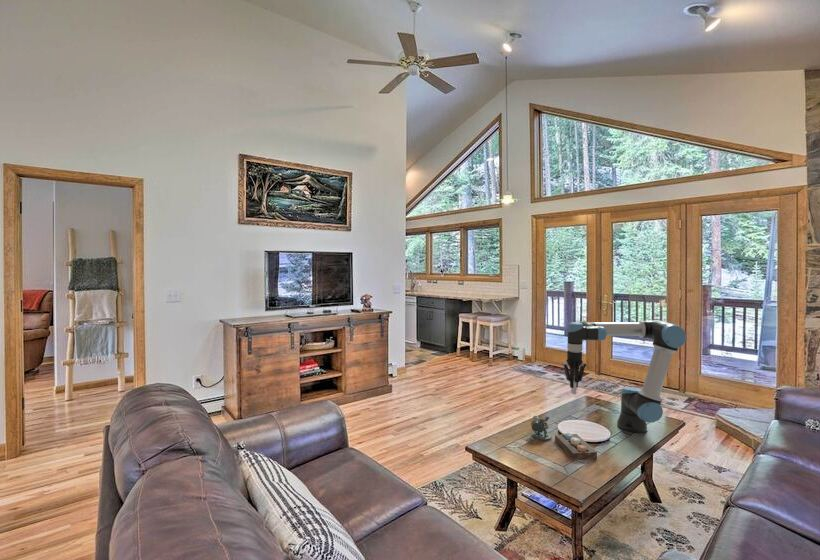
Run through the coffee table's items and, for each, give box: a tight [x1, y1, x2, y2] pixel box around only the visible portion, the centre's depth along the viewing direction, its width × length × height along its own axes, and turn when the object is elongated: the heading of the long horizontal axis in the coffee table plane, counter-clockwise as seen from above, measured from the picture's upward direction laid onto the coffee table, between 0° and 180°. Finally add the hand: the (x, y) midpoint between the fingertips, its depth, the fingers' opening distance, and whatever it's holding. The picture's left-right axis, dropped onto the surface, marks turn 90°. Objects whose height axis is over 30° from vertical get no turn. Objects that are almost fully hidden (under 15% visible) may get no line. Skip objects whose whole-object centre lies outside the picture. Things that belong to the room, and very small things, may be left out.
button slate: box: [564, 432, 573, 440], centre depth 213 cm, size 4×4×3 cm
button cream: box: [570, 437, 580, 446], centre depth 206 cm, size 4×4×3 cm
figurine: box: [530, 415, 553, 442], centre depth 221 cm, size 11×11×12 cm
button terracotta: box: [577, 445, 587, 452], centre depth 200 cm, size 4×4×3 cm
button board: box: [554, 433, 598, 461], centre depth 207 cm, size 12×20×4 cm, turn 5°
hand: (573, 393), depth 219 cm, fingers closed
